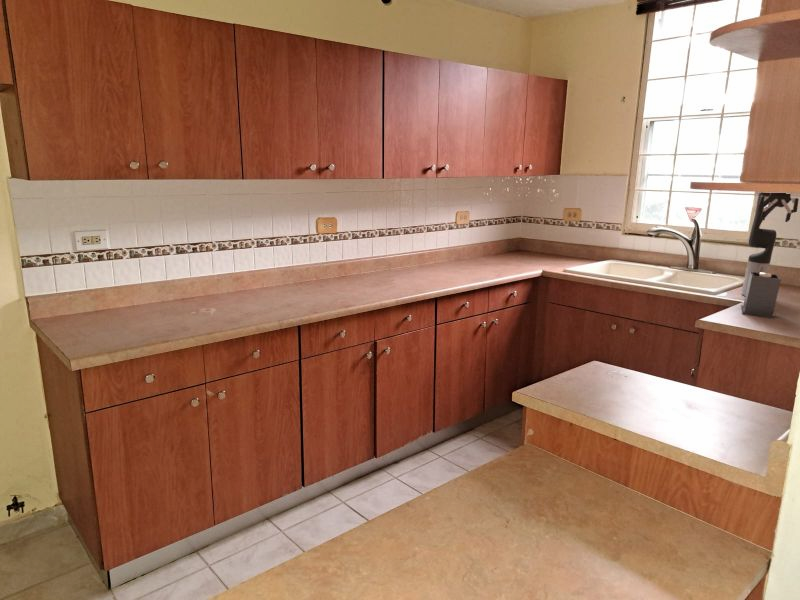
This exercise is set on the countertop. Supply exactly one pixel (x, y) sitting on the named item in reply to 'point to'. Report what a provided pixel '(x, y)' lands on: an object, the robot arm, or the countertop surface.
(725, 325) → the countertop surface
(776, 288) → the dark grey upright box
